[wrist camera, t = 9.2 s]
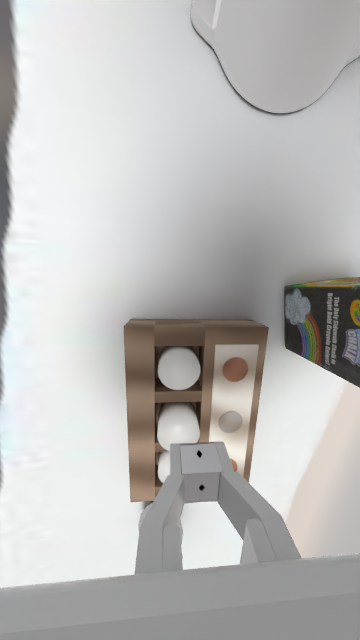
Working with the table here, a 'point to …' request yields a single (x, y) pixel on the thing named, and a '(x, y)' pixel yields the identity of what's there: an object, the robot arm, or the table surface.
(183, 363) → the button
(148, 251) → the table surface
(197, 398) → the board
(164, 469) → the button
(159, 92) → the table surface
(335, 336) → the chalk box
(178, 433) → the middle button
